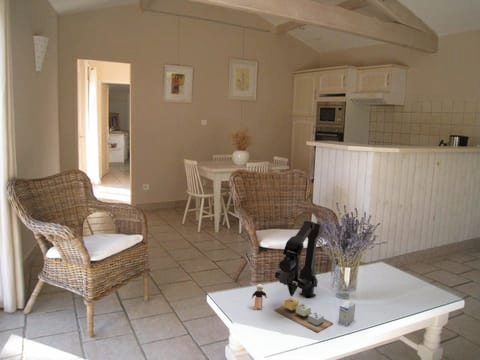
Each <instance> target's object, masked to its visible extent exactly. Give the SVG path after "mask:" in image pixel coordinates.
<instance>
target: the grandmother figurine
mask: <svg viewBox="0 0 480 360" xmlns="http://www.w3.org/2000/svg"><path fill="white" fill-rule="evenodd" d="M263 289H264V286H263V285H262V284H261V283H259V284H257V285H256V291H254V292H253V293H252V295H251V300H252V299H254V304H253V305H254V307H253V309H252V310H255V311H257V310H263V301H264V299H263V297H264V298H265V299H267V298H268V296H267V293H266V292H265V291H263ZM254 297H255V298H254Z"/></svg>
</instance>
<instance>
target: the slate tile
mask: <svg viewBox="0 0 480 360" xmlns="http://www.w3.org/2000/svg"><path fill="white" fill-rule="evenodd" d="M311 313H312V314H310V315H308V322H310V323H312V324H314V325H319V324H321V323H323V321H324V319H325V318H324V315H322V314H321V313H318V312H316V311H314V312H311Z"/></svg>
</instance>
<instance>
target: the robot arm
mask: <svg viewBox="0 0 480 360" xmlns="http://www.w3.org/2000/svg"><path fill="white" fill-rule="evenodd" d="M323 229H324V227H323V225H322V224H321V223H317V222H315V221H311V220H304V221H303V224H302V226H301V227H300V229H299V230H298V232H297V233H296V234H295V235H293V236H291V237H290V238H289V239H288V240H287V241H286V242H285V247H284V250H283V253H282V255H284V257H283V259H282V260H281V261H280V262H279V270H277V271H276V272H275V273H274V278H276V279H278V282H279V283H280V284H283V285H284V286H287V289H288V292H289V295H290V297H294V295H295V293H296V291H297V289H300V290H301V292H299V293H298V294H299V296H302V297H304V298H306V299H308V300H309V299H311V298H314V297H315V296H316V295H317V294H315V293H314V292H315V291H314V290H315V288H317V287H318V282H319V280H318V279H317V275H316V274H317V273H316V269H315V268H314V264H315V259H316V258H315V257H316V251H317V244H318V240H319V238H320V237H322V233H323ZM306 239H307V245H306V250H305V251H306V252H305V259H304V265H303V267H301V266H300V264H301V263H300V261H301V260H300V259H301V255H302V253H303V251H304V247H305V246H304V242H305V241H306Z"/></svg>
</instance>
